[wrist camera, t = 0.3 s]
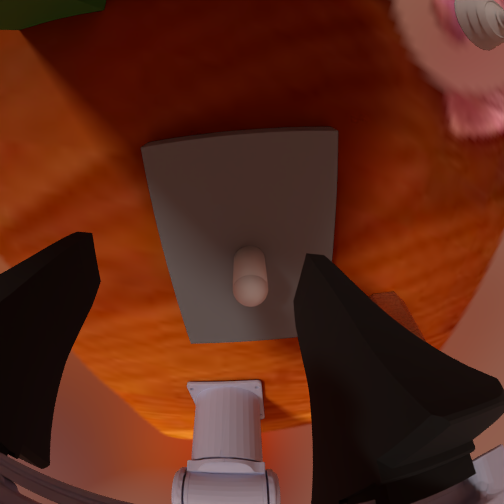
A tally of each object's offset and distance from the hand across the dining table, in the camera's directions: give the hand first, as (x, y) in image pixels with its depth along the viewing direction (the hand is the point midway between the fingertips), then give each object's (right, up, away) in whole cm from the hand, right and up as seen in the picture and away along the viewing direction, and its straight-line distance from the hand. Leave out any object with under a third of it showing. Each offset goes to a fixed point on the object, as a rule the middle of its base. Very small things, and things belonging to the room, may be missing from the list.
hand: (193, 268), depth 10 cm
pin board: (+2, +1, +11) cm, 11 cm away
